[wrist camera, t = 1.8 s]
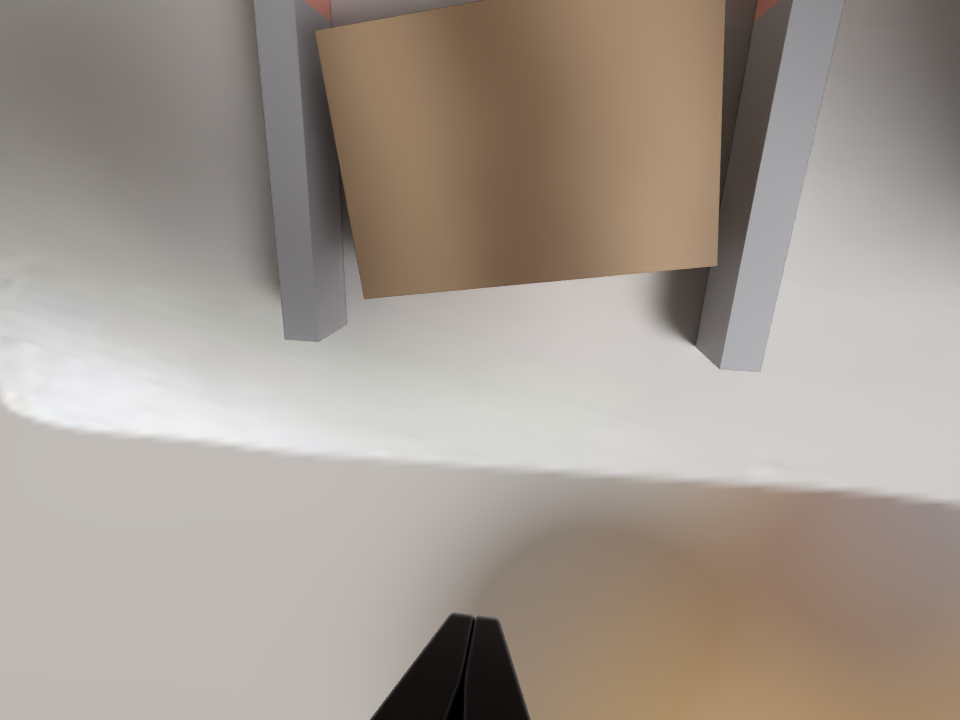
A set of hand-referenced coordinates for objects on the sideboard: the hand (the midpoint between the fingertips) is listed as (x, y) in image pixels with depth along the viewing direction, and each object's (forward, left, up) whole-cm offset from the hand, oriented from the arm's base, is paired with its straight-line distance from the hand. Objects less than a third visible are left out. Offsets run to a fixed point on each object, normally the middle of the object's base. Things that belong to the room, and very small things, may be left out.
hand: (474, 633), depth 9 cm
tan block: (0, -8, -11) cm, 14 cm away
